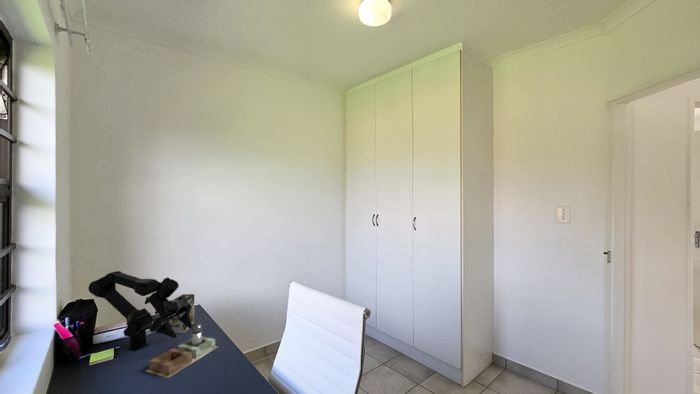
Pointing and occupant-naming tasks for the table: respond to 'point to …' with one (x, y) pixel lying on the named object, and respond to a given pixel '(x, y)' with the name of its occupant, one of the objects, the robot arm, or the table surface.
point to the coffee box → (182, 328)
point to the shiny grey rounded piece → (196, 334)
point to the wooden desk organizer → (180, 357)
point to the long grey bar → (154, 331)
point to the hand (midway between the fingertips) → (183, 332)
